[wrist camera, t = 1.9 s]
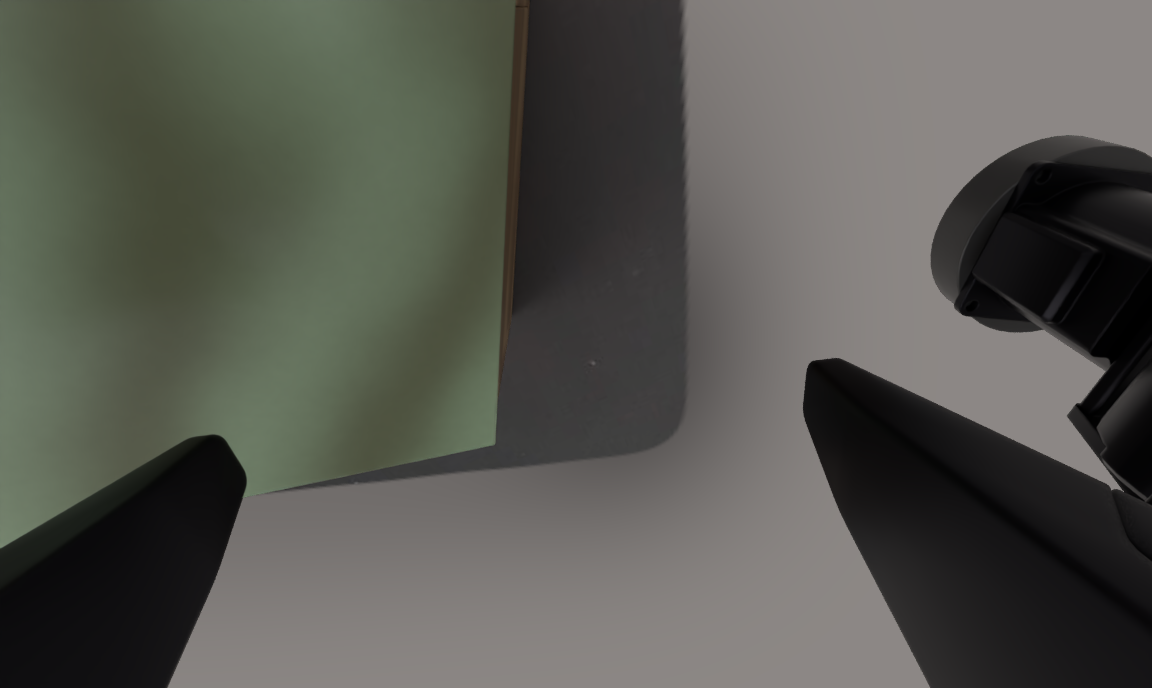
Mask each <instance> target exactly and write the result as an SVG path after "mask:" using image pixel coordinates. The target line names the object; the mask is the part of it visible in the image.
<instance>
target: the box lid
mask: <svg viewBox="0 0 1152 688" xmlns="http://www.w3.org/2000/svg"><path fill="white" fill-rule="evenodd" d="M515 10H516V0H0V548H2V547H4V546H5V545H7V544H9V543H10V542H12V541H14V540H16V539H17V538H19V537H21V536H22V535H24V534H26V533H27V532H29V531H31V530H33V529H34V528H36V527H38V526H39V525H41V524H43V523H45V522H46V521H48V520H50V519H51V518H53V517H55V516H56V515H58V514H60V513H62V512H63V511H65V510H67V509H68V508H70V507H72V506H74V505H75V504H77V503H79V502H80V501H82V500H84V499H85V498H87V497H89V496H91V495H92V494H94V493H96V492H97V491H99V490H101V489H102V488H104V487H106V486H108V485H109V484H111V483H113V482H114V481H116V480H118V479H120V478H121V477H123V476H125V475H126V474H128V473H130V472H131V471H133V470H135V469H137V468H138V467H140V466H142V465H143V464H145V463H147V462H148V461H150V460H152V459H154V458H155V457H157V456H159V455H160V454H162V453H164V452H166V451H167V450H169V449H171V448H172V447H174V446H176V445H177V444H179V443H181V442H183V441H184V440H186V439H188V438H191V437H195V436H203V435H211V434H216V435H220V436H221V437H223V438H224V439H225V440H226V441H227V443H228V444H229V446H230V448H231V449H232V451H233V452H234V454H235V456H236V457H237V459H238V460H239V462H240V463H241V465H242V467H243V468H244V470H245V472H246V476H247V486H246V490H245V493H244V496H243V498H244V497H249V496H253V495H258V494H263V493H268V492H273V491H277V490H282V489H287V488H292V487H296V486H301V485H306V484H311V483H315V482H320V481H325V480H330V479H335V478H339V477H344V476H349V475H354V474H358V473H363V472H368V471H373V470H377V469H382V468H387V467H392V466H396V465H401V464H406V463H411V462H416V461H420V460H425V459H430V458H435V457H439V456H444V455H449V454H454V453H458V452H463V451H468V450H473V449H478V448H482V447H487V446H492V445H495V442H496V421H497V399H498V378H499V356H500V335H501V313H502V291H503V270H504V248H505V226H506V205H507V183H508V162H509V140H510V118H511V97H512V75H513V54H514V32H515Z"/></svg>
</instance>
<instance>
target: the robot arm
mask: <svg viewBox="0 0 1152 688" xmlns="http://www.w3.org/2000/svg"><path fill="white" fill-rule="evenodd" d="M1041 171H1043V173H1042V175H1041V176H1040V178H1038V179H1036V178H1037V175H1038V174H1039V173H1040V172H1041ZM971 301H972V303H971V304H970V305H968V306H967V307H966V305H967V304H968V303H969V302H971ZM954 307H955V309H956V310H957V311H958V312H959V313H961V314H962V315H964V316H970V317H980V318H990V319H1001V320H1012V321H1022V322H1033V323H1034V324H1036V325H1037V326H1039V327H1040V328H1042V329H1043V330H1045V331H1046V332H1048V333H1049V334H1051V335H1052V336H1054V337H1055V338H1057V339H1058V340H1060V341H1061V342H1063V343H1064V344H1066V345H1067V346H1069V347H1070V348H1072V349H1073V350H1075V351H1076V352H1078V353H1080V354H1081V355H1083V356H1084V357H1085V358H1087V359H1088V360H1090V361H1091V362H1093V363H1094V364H1096V365H1097V366H1099V367H1100V368H1102V369H1103V370H1105V371H1106V372H1105V373H1104V374H1103V376H1102V377H1101V378H1100V379H1099V381H1098V382H1097V383H1096V385H1095V386H1094V387H1093V388H1092V390H1091V391H1090V392H1089V393H1088V395H1087V396H1086V397H1085V398H1084V400H1083V401H1082V402H1081V404H1080V403H1077V404H1076V405H1075V406H1074V407H1073V409H1072V410H1071V411H1070V412H1069V414H1068V415H1067V417H1068V418H1069V419H1070V421H1071V422H1072V423H1073V425H1074V426H1075V427H1076V429H1077V430H1078V431H1079V433H1080V434H1081V435H1082V437H1083V438H1084V439H1085V441H1086V442H1087V443H1088V445H1089V446H1090V447H1091V449H1092V450H1093V451H1094V453H1095V454H1096V455H1097V457H1098V458H1099V459H1100V461H1101V462H1102V463H1103V465H1104V466H1105V467H1106V468H1107V470H1108V471H1109V473H1110V474H1111V475H1112V476H1113V478H1114V479H1115V481H1116V482H1117V483H1118V485H1119V486H1120V487H1121V489H1122V490H1123V491H1124V492H1123V491H1121V490H1118V489H1114V490H1112V491H1111V488H1110V487H1109V485H1107V484H1105V483H1103V482H1101V481H1099V480H1097V479H1095V478H1092V477H1090V476H1088V475H1086V474H1084V473H1082V472H1079V471H1077V470H1075V469H1073V468H1071V467H1069V466H1067V465H1065V464H1063V463H1061V462H1059V461H1056V460H1054V459H1052V458H1050V457H1048V456H1046V455H1043V454H1042V453H1040V452H1037V451H1035V450H1033V449H1031V448H1029V447H1027V446H1025V445H1023V444H1020V443H1018V442H1016V441H1014V440H1012V439H1010V438H1008V437H1006V436H1004V435H1001V434H999V433H997V432H995V431H993V430H991V429H988V428H987V427H984V426H982V425H980V424H978V423H976V422H974V421H972V420H970V419H967V418H965V417H963V416H961V415H959V414H957V413H955V412H952V411H950V410H948V409H946V408H944V407H942V406H940V405H938V404H936V403H934V402H931V401H929V400H927V399H925V398H923V397H921V396H919V395H916V394H914V393H912V392H910V391H908V390H906V389H904V388H902V387H899V386H897V385H895V384H893V383H891V382H889V381H887V380H885V379H883V378H881V377H878V376H876V375H874V374H872V373H870V372H868V371H866V370H864V369H861V368H859V367H857V366H855V365H853V364H851V363H849V362H847V361H844V360H842V359H839V358H832V359H824V360H816V361H812V362H811V363H810V364H809V365H808V368H807V372H806V382H805V391H804V402H803V413H804V418H805V422H806V424H807V427H808V430H809V432H810V435H811V438H812V440H813V443H814V446H815V448H816V451H817V454H818V456H819V459H820V462H821V464H822V467H823V470H824V472H825V475H826V478H827V480H828V483H829V485H830V488H831V491H832V493H833V496H834V498H835V501H836V503H837V506H838V508H839V511H840V513H841V515H842V517H843V519H844V521H845V523H846V525H847V527H848V529H849V531H850V533H851V535H852V537H853V539H854V541H855V543H856V545H857V547H858V549H859V551H860V552H861V554H862V556H863V558H864V560H865V562H866V564H867V566H868V568H869V570H870V572H871V574H872V576H873V578H874V579H875V582H876V583H877V585H878V587H879V589H880V591H881V593H882V595H883V597H884V599H885V601H886V603H887V605H888V607H889V609H890V611H891V612H892V614H893V616H894V618H895V620H896V622H897V624H898V626H899V628H900V630H901V632H902V634H903V635H904V638H905V640H906V641H907V643H908V645H909V647H910V649H911V651H912V653H913V655H914V657H915V659H916V661H917V663H918V665H919V667H920V668H921V670H922V672H923V674H924V676H925V678H926V680H927V682H928V684H929V686H930V688H1152V173H1147V172H1138V171H1130V170H1121V169H1113V168H1104V167H1096V166H1087V165H1079V164H1071V163H1062V162H1054V161H1045V160H1040V161H1036V162H1034V163H1032V164H1031V165H1029V166H1028V167H1027V168H1026V170H1025V171H1024V172H1023V174H1022V176H1021V178H1020V180H1019V182H1018V184H1017V186H1016V187H1015V189H1014V191H1013V193H1012V195H1011V197H1010V199H1009V201H1008V203H1007V204H1006V206H1005V208H1004V210H1003V212H1002V214H1001V216H1000V218H999V219H998V221H997V223H996V225H995V227H994V229H993V231H992V233H991V234H990V236H989V238H988V240H987V242H986V244H985V246H984V248H983V250H982V251H981V253H980V255H979V257H978V259H977V261H976V263H975V265H974V266H973V268H972V270H971V272H970V274H969V276H968V278H967V280H966V282H965V283H964V285H963V287H962V289H961V291H960V293H959V295H958V297H957V298H956V300H955V303H954ZM246 486H247V476H246V472H245V470H244V468H243V467H242V465H241V463H240V462H239V460H238V459H237V457H236V456H235V454H234V452H233V451H232V449H231V448H230V446H229V444H228V443H227V441H226V440H225V439H224V438H223V437H221V436H220V435H216V434H211V435H203V436H195V437H191V438H188V439H186V440H184V441H183V442H181V443H179V444H177V445H176V446H174V447H172V448H171V449H169V450H167V451H166V452H164V453H162V454H160V455H159V456H157V457H155V458H154V459H152V460H150V461H148V462H147V463H145V464H143V465H142V466H140V467H138V468H137V469H135V470H133V471H131V472H130V473H128V474H126V475H125V476H123V477H121V478H120V479H118V480H116V481H114V482H113V483H111V484H109V485H108V486H106V487H104V488H102V489H101V490H99V491H97V492H96V493H94V494H92V495H91V496H89V497H87V498H85V499H84V500H82V501H80V502H79V503H77V504H75V505H74V506H72V507H70V508H68V509H67V510H65V511H63V512H62V513H60V514H58V515H56V516H55V517H53V518H51V519H50V520H48V521H46V522H45V523H43V524H41V525H39V526H38V527H36V528H34V529H33V530H31V531H29V532H27V533H26V534H24V535H22V536H21V537H19V538H17V539H16V540H14V541H12V542H10V543H9V544H7V545H5V546H4V547H2V548H0V688H167V687H168V685H169V683H170V680H171V678H172V676H173V674H174V671H175V669H176V667H177V665H178V663H179V660H180V658H181V656H182V654H183V651H184V649H185V647H186V644H187V642H188V640H189V638H190V635H191V633H192V631H193V629H194V626H195V624H196V622H197V620H198V617H199V615H200V613H201V611H202V608H203V606H204V604H205V602H206V600H207V597H208V595H209V593H210V590H211V588H212V585H213V583H214V580H215V578H216V575H217V573H218V570H219V567H220V565H221V562H222V559H223V556H224V553H225V550H226V547H227V544H228V541H229V537H230V535H231V531H232V528H233V526H234V523H235V519H236V517H237V514H238V511H239V508H240V505H241V502H242V499H243V496H244V493H245V490H246Z"/></svg>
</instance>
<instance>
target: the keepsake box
mask: <svg viewBox="0 0 1152 688" xmlns="http://www.w3.org/2000/svg"><path fill="white" fill-rule="evenodd" d="M529 8H530V0H516V10H515V32H514V54H513V75H512V97H511V118H510V140H509V162H508V183H507V205H506V226H505V248H504V270H503V291H502V313H501V335H500V356H499V378H498V396H499V390H500V384H501V378H502V372H503V366H504V360H505V354H506V348H507V342H508V336H509V330H510V324H511V318H512V303H513V286H514V268H515V251H516V233H517V216H518V199H519V181H520V164H521V147H522V129H523V112H524V95H525V77H526V60H527V42H528V25H529ZM497 402H498V399H497Z"/></svg>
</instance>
